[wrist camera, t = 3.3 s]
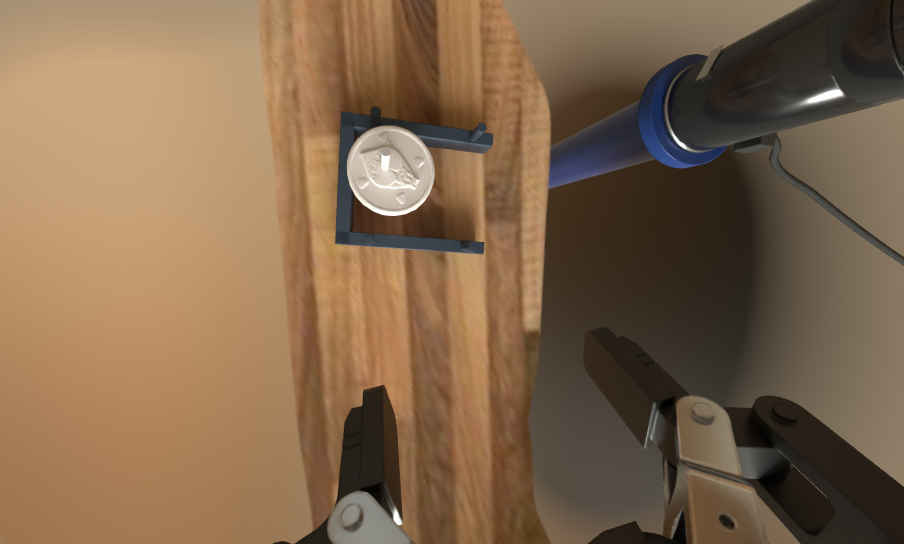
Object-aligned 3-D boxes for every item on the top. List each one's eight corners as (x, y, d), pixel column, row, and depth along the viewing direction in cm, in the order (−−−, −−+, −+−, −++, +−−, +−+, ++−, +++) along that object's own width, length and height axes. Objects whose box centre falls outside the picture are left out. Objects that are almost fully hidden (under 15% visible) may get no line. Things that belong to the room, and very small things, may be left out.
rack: (484, 142, 35) (504, 123, 30) (475, 252, 36) (493, 256, 31) (344, 122, 32) (336, 97, 27) (339, 243, 33) (330, 245, 28)
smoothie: (372, 143, 33) (367, 78, 19) (431, 175, 35) (464, 135, 21) (344, 202, 33) (319, 178, 19) (404, 231, 35) (419, 228, 21)
